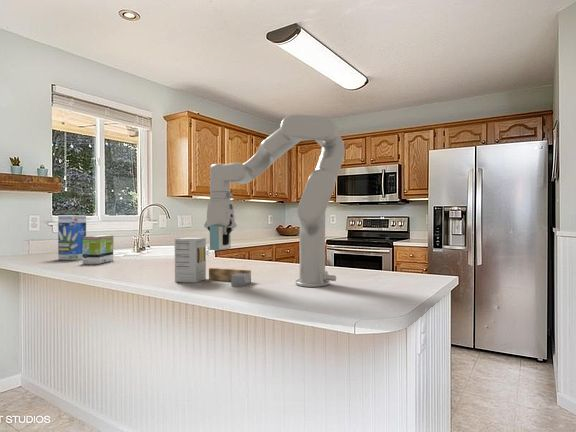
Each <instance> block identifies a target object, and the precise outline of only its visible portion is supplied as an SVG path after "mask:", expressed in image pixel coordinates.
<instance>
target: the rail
mask: <svg viewBox="0 0 576 432" xmlns="http://www.w3.org/2000/svg"><path fill="white" fill-rule="evenodd" d="M236 273H250V283H251V282H252V271H251V269H250V270H249V269H236V268H235V269H234V268H219V267H209V268H208V280H210V281H211V280H213V281H225V282H231V276H232V275H234V274H236Z"/></svg>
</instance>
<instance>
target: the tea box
mask: <svg viewBox="0 0 576 432" xmlns="http://www.w3.org/2000/svg"><path fill="white" fill-rule="evenodd" d="M81 260H82V264H84V265H100V264H103V263H108V262H113V261H114V235H110V234H105V235H104V234H103V235H101V234H99V235H96V234H95V235H86V236H84V237H83V257H82V259H81Z"/></svg>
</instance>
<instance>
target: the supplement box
mask: <svg viewBox="0 0 576 432" xmlns="http://www.w3.org/2000/svg"><path fill="white" fill-rule="evenodd" d="M206 240H207V239H206V237H182V238H181V237H179V238H174V282H176V283H193V284H194V283H199V282H202V281H203V280H206V279H207V259H206V258H207V246H206V244H207V241H206Z"/></svg>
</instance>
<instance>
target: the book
mask: <svg viewBox="0 0 576 432" xmlns="http://www.w3.org/2000/svg"><path fill="white" fill-rule="evenodd" d="M229 227H231V226H229ZM223 235H224V231H223V226H210V232H209V250H210V251H222V250H223V251H224V250H228V249H229V250H230V249H231V233H230V234H229V244H228V245H223Z"/></svg>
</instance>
